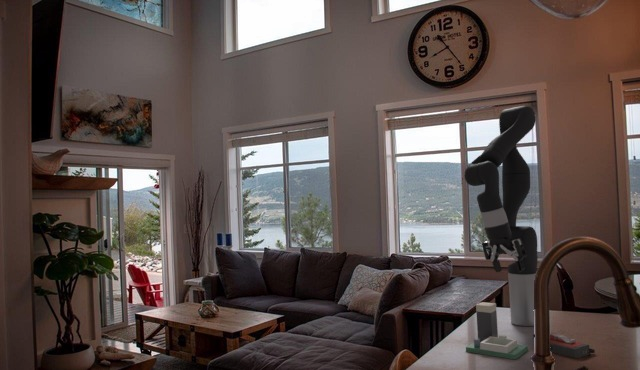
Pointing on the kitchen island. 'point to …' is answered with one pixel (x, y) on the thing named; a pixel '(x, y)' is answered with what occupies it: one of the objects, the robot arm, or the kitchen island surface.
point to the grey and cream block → (486, 320)
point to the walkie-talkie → (568, 346)
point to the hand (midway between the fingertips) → (509, 271)
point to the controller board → (497, 347)
